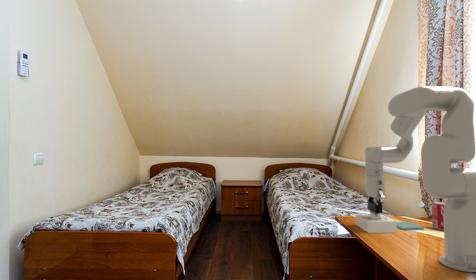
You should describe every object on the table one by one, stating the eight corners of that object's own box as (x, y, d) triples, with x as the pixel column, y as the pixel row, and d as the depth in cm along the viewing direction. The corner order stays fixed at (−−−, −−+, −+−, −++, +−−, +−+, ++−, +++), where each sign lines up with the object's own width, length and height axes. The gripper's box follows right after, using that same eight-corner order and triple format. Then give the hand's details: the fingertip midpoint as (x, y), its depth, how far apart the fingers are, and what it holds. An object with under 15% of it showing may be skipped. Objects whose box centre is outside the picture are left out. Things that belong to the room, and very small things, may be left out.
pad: (423, 229, 136) (423, 227, 136) (402, 230, 135) (402, 227, 135) (410, 223, 146) (410, 221, 146) (390, 224, 145) (390, 222, 145)
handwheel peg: (385, 230, 135) (385, 204, 135) (371, 230, 135) (371, 204, 135) (378, 226, 141) (378, 201, 142) (365, 226, 141) (364, 201, 141)
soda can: (453, 229, 136) (453, 203, 136) (446, 232, 132) (446, 205, 132) (436, 225, 142) (435, 200, 142) (429, 228, 138) (429, 202, 138)
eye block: (396, 232, 132) (396, 221, 132) (367, 233, 131) (367, 221, 132) (381, 224, 145) (381, 214, 145) (355, 225, 144) (355, 214, 145)
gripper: (392, 174, 130) (393, 215, 130) (373, 171, 147) (373, 207, 147) (375, 175, 130) (376, 216, 130) (358, 171, 147) (358, 207, 147)
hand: (374, 211), depth 138 cm, fingers closed on handwheel peg, 6 cm apart
